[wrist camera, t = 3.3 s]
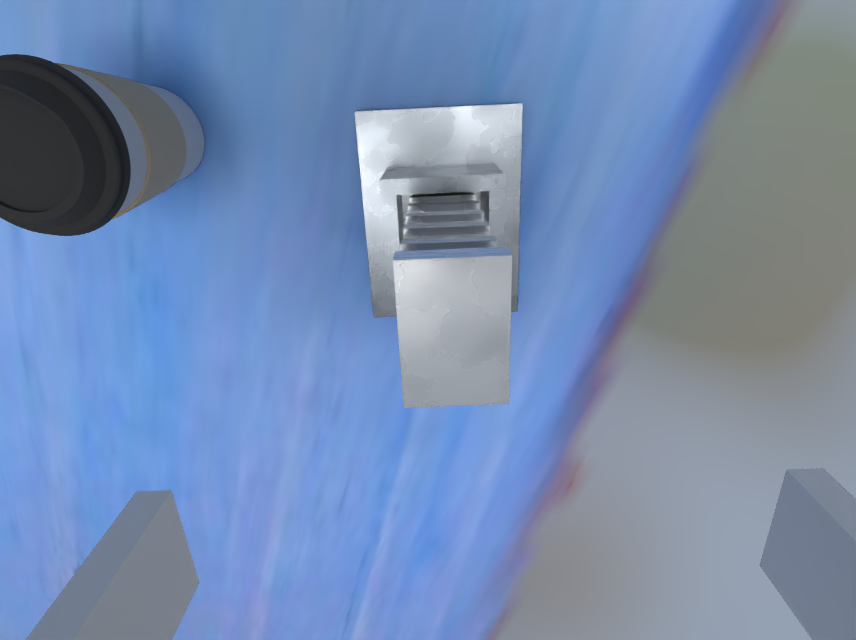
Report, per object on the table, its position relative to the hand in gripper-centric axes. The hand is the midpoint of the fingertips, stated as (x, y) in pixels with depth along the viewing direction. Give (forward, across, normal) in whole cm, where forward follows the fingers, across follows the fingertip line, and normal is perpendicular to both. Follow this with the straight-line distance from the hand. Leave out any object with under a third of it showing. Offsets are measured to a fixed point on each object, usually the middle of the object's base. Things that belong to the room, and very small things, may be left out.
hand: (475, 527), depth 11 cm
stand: (+32, 0, 0) cm, 32 cm away
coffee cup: (+32, -21, +7) cm, 39 cm away
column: (+31, 0, 0) cm, 31 cm away
